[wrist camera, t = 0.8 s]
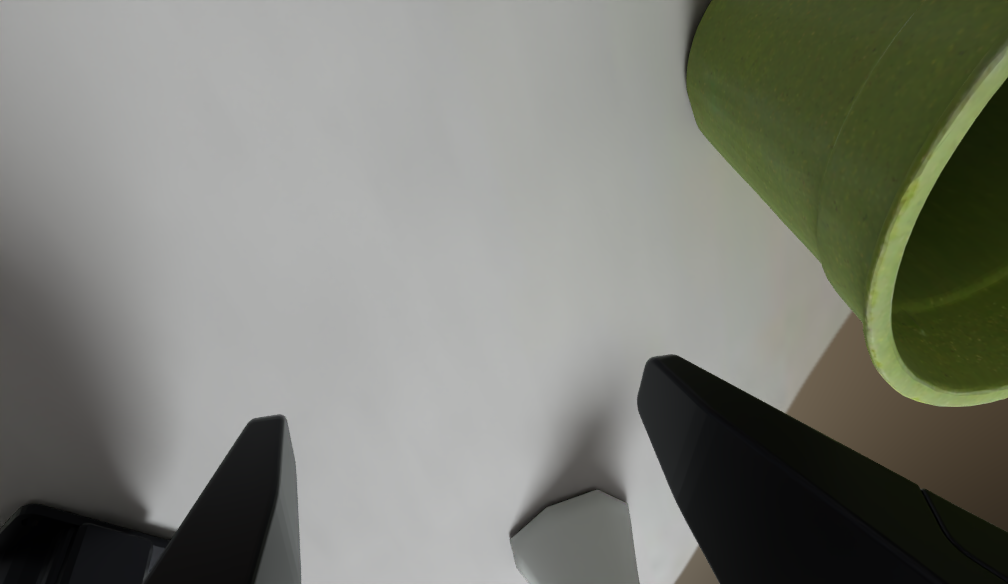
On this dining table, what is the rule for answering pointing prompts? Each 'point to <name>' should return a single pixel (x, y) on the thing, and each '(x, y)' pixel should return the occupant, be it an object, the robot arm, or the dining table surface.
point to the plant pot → (879, 166)
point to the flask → (578, 543)
